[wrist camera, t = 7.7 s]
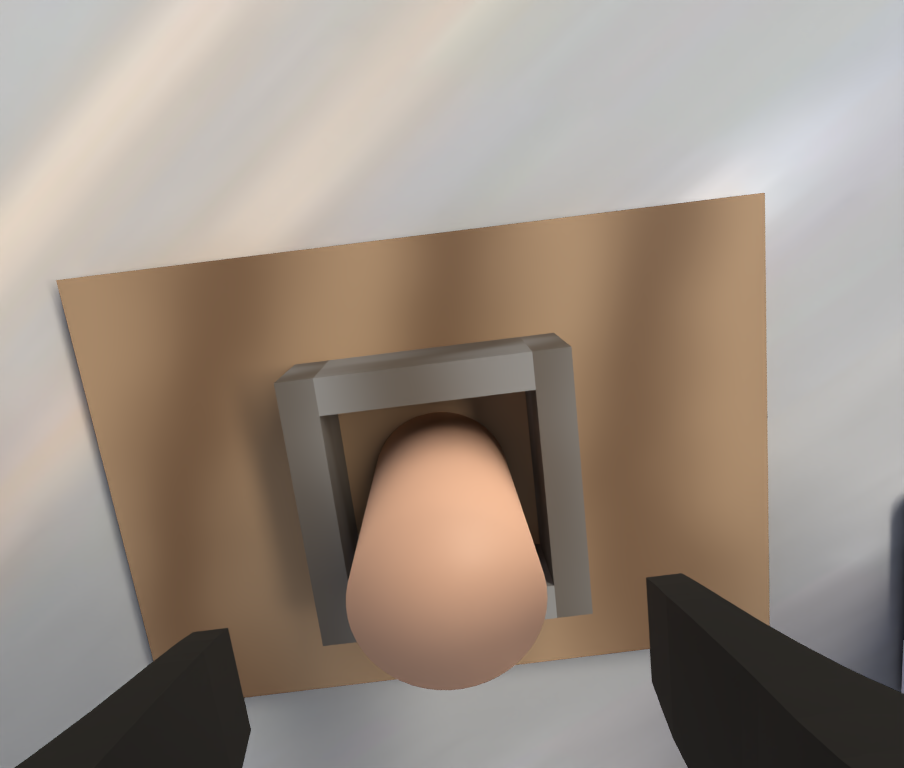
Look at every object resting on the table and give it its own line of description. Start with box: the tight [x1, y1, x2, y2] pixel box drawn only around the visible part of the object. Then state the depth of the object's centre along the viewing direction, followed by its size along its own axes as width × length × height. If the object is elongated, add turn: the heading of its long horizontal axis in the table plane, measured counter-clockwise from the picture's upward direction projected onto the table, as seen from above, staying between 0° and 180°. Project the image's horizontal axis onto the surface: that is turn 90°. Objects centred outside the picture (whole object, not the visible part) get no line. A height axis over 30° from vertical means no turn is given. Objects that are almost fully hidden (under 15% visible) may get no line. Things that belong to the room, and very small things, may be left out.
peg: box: [346, 412, 548, 690], centre depth 16 cm, size 4×4×7 cm
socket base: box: [56, 193, 769, 698], centre depth 19 cm, size 20×14×4 cm
